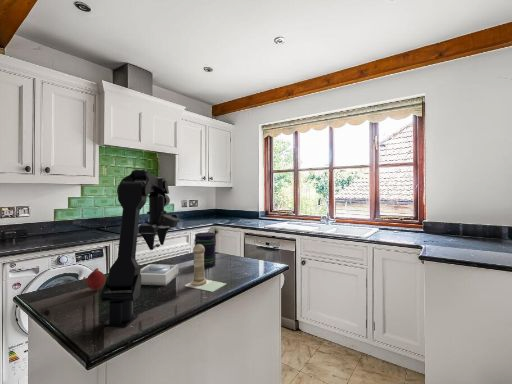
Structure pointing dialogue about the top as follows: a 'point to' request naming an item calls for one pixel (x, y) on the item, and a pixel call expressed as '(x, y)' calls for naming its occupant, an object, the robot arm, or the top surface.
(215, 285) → the game track
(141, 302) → the top surface
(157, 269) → the dome button
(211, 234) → the dark blue cylinder
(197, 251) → the beech pawn
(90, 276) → the onion
